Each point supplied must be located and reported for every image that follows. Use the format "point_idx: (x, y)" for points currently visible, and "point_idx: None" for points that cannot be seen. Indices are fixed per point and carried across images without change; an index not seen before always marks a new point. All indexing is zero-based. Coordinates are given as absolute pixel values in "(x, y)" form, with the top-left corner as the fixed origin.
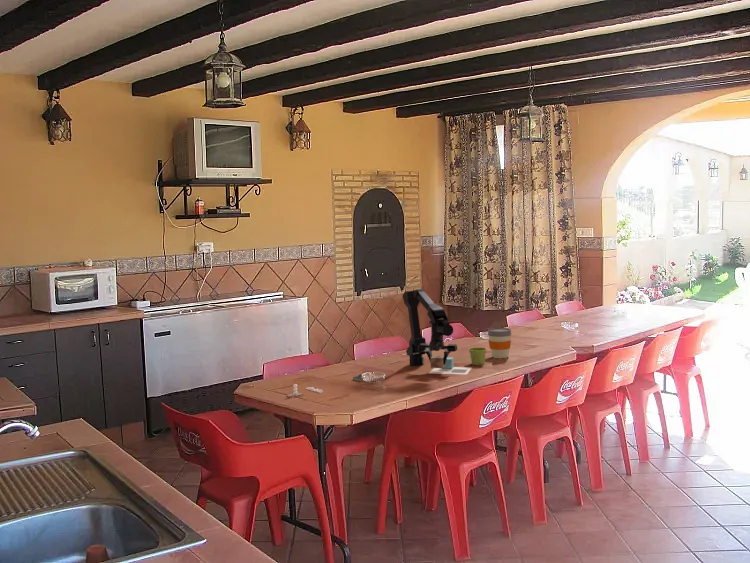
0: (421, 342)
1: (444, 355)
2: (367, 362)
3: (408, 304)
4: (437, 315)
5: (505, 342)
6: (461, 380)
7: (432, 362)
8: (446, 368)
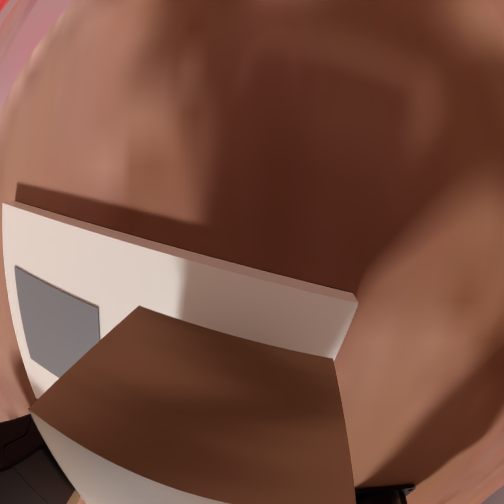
0: None
1: (7, 458)
2: (493, 486)
3: None
4: None
5: None
6: (49, 62)
7: (305, 421)
8: None
